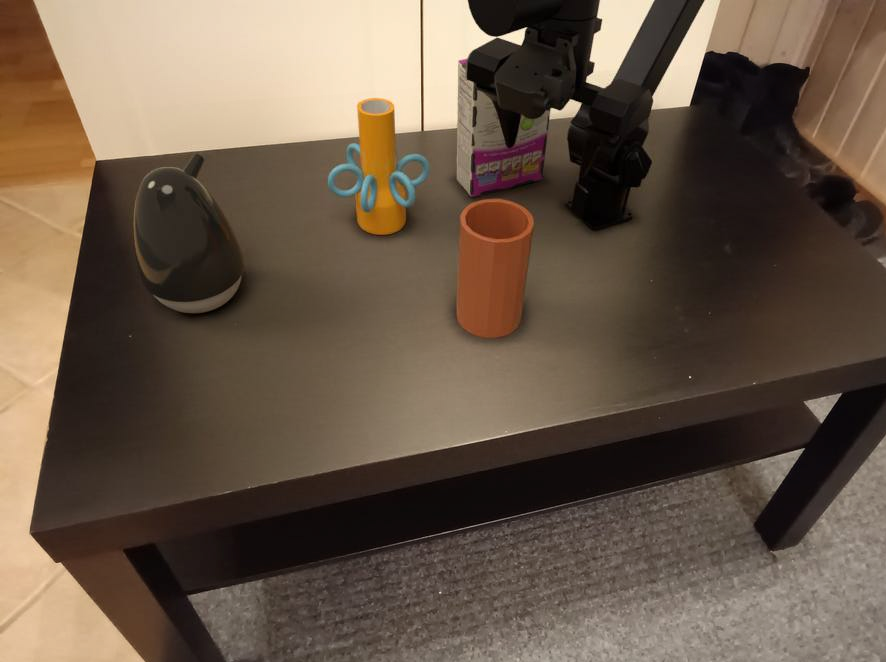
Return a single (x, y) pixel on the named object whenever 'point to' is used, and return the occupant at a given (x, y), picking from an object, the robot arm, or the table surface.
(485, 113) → the candy bar box
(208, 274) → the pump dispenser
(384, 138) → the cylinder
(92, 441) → the table surface
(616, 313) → the table surface
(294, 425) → the table surface
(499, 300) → the pot
